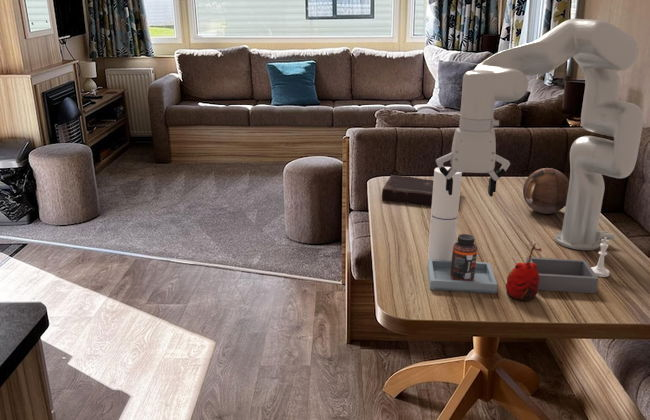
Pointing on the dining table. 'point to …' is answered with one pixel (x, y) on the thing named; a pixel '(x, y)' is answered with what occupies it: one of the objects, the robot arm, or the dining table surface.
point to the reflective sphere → (546, 190)
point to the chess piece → (601, 261)
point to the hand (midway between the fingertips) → (470, 194)
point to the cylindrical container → (443, 216)
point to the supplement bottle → (464, 258)
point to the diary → (408, 190)
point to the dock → (565, 275)
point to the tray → (443, 281)
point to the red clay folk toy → (523, 280)
